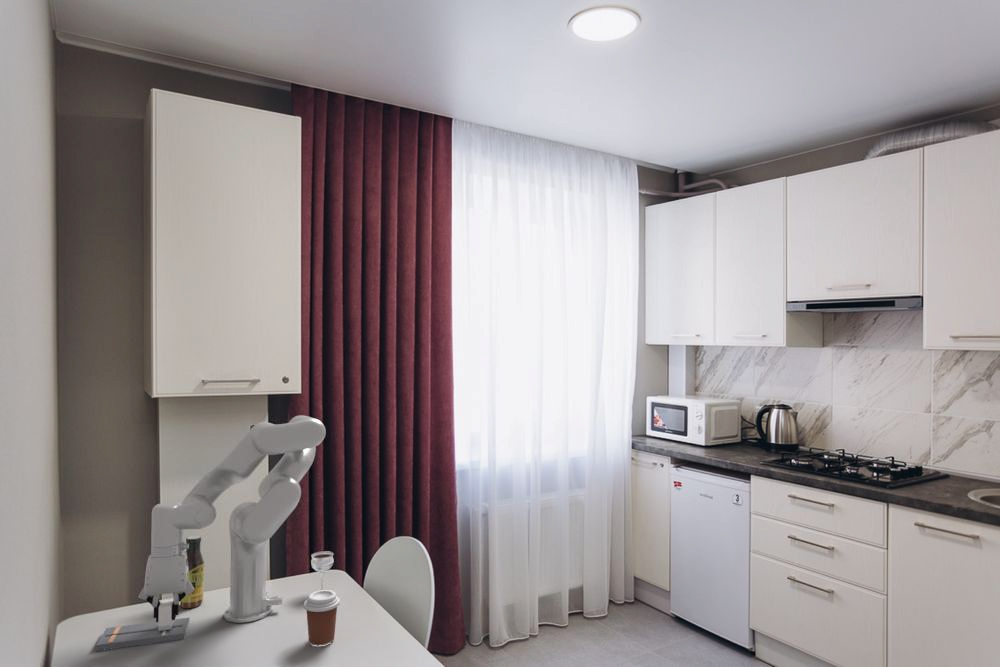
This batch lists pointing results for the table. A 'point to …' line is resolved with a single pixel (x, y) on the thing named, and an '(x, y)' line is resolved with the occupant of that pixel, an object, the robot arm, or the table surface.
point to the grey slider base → (141, 634)
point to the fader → (165, 615)
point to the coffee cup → (321, 616)
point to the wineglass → (322, 562)
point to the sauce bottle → (194, 573)
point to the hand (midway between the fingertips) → (166, 618)
